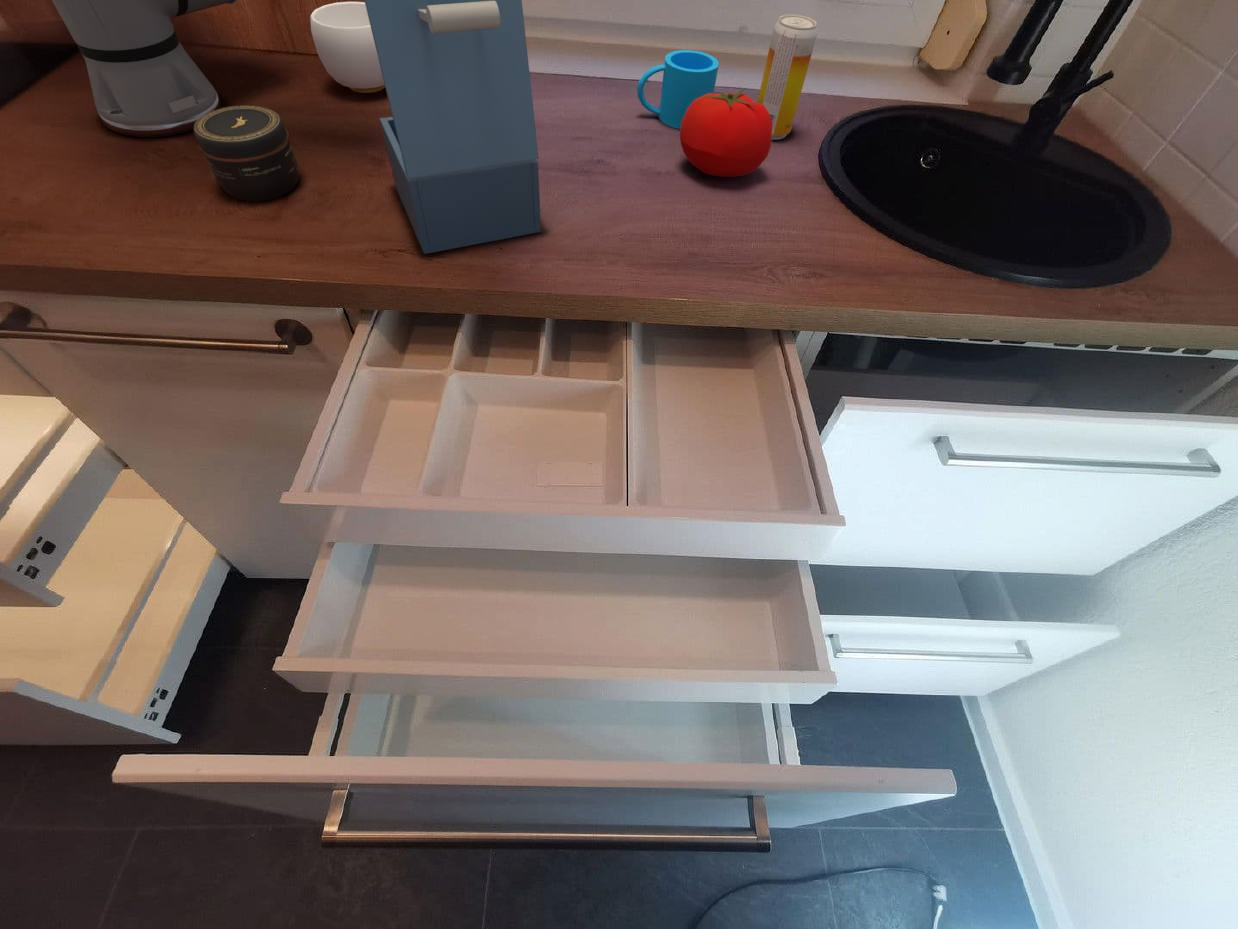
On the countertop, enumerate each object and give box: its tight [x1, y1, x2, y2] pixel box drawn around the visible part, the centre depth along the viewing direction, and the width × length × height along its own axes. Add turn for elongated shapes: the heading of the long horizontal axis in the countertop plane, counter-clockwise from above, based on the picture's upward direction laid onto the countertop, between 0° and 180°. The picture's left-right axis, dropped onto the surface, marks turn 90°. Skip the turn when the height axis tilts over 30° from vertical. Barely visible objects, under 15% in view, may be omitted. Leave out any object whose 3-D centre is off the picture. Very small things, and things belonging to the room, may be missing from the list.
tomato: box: [679, 88, 772, 178], centre depth 85 cm, size 11×13×10 cm
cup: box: [310, 1, 386, 94], centre depth 95 cm, size 12×12×10 cm
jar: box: [193, 104, 300, 202], centre depth 77 cm, size 10×10×8 cm
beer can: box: [757, 13, 818, 141], centre depth 92 cm, size 6×6×15 cm
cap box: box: [379, 116, 542, 255], centre depth 76 cm, size 16×15×9 cm
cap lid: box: [363, 0, 540, 179], centre depth 60 cm, size 16×15×8 cm
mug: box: [636, 49, 719, 130], centre depth 96 cm, size 12×8×8 cm
